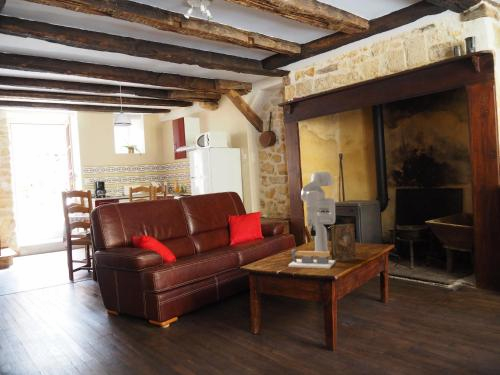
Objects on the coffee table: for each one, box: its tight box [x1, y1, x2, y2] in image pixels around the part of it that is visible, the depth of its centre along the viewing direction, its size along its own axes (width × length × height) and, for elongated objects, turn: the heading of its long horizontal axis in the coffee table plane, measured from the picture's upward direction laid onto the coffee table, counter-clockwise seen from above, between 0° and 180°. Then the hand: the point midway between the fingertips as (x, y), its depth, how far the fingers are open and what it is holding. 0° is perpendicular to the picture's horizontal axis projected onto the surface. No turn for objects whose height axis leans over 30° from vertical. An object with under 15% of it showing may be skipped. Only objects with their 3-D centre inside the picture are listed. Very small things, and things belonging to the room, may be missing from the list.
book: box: [330, 223, 357, 263], centre depth 290 cm, size 16×6×25 cm, turn 101°
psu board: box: [288, 255, 336, 270], centre depth 282 cm, size 18×28×6 cm, turn 67°
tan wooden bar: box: [291, 248, 331, 258], centre depth 282 cm, size 4×26×4 cm, turn 67°
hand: (313, 235), depth 284 cm, fingers closed
